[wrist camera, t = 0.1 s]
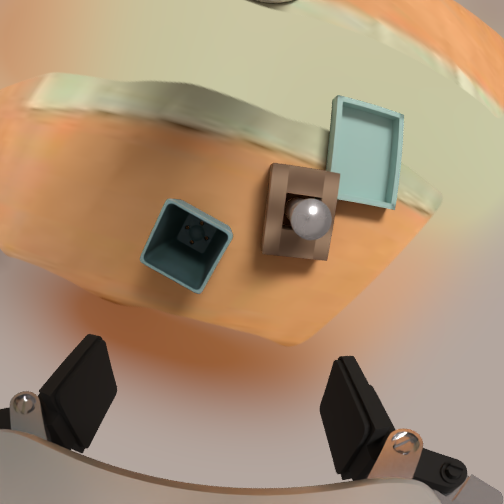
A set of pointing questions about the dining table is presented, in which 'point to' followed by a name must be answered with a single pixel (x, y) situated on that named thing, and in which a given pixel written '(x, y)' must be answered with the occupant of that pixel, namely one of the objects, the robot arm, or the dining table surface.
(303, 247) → the socket block
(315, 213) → the pin
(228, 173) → the dining table surface
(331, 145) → the tray
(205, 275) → the flower pot
